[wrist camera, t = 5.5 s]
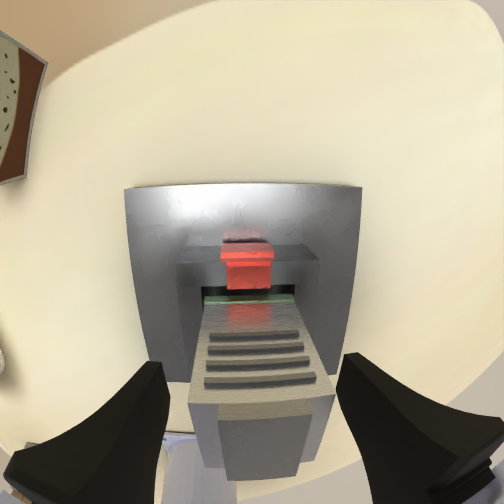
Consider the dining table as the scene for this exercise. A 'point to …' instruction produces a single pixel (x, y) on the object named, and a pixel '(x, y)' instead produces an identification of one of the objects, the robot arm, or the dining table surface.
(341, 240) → the base
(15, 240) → the dining table surface
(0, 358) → the decorative vase
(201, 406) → the block
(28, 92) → the food container
